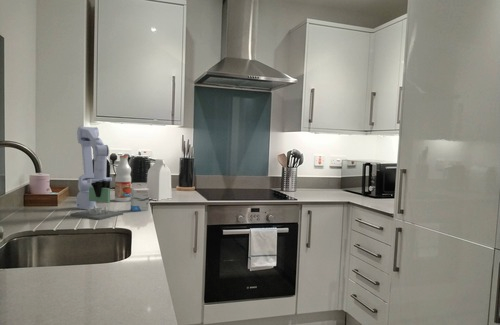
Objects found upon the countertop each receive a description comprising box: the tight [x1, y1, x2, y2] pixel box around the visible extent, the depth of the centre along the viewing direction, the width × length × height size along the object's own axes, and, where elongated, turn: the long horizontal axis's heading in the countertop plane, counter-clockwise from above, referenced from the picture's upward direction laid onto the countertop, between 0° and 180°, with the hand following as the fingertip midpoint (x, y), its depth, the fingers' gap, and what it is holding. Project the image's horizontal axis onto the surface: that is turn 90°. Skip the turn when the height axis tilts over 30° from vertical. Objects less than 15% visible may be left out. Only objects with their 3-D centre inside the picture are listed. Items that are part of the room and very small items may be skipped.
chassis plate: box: [69, 205, 124, 221], centre depth 181 cm, size 18×16×4 cm
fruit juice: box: [114, 155, 132, 203], centre depth 227 cm, size 9×9×28 cm
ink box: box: [130, 182, 150, 212], centre depth 198 cm, size 8×5×15 cm, turn 124°
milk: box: [146, 158, 173, 200], centre depth 240 cm, size 12×12×26 cm
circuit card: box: [89, 187, 111, 204], centre depth 182 cm, size 12×2×7 cm, turn 68°
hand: (99, 196), depth 182 cm, fingers closed on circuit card, 1 cm apart
